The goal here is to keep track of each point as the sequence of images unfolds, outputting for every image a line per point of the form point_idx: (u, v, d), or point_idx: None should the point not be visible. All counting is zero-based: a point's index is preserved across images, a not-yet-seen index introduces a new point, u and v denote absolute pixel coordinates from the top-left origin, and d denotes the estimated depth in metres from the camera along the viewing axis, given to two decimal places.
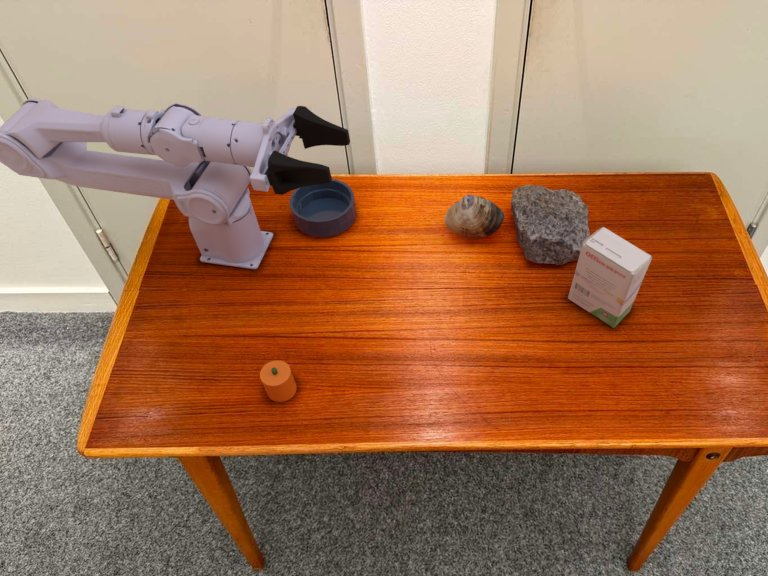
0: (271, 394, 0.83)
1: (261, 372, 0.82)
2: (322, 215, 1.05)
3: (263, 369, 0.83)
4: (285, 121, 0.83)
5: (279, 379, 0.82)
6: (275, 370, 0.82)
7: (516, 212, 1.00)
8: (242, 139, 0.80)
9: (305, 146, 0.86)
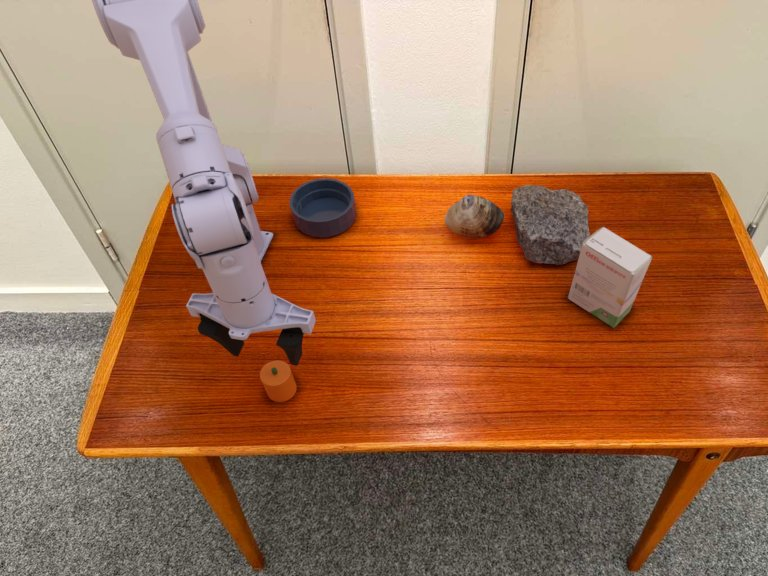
0: (271, 394, 0.83)
1: (261, 372, 0.82)
2: (322, 215, 1.05)
3: (263, 369, 0.83)
4: None
5: (279, 379, 0.82)
6: (275, 370, 0.82)
7: (516, 212, 1.00)
8: (219, 305, 0.68)
9: None
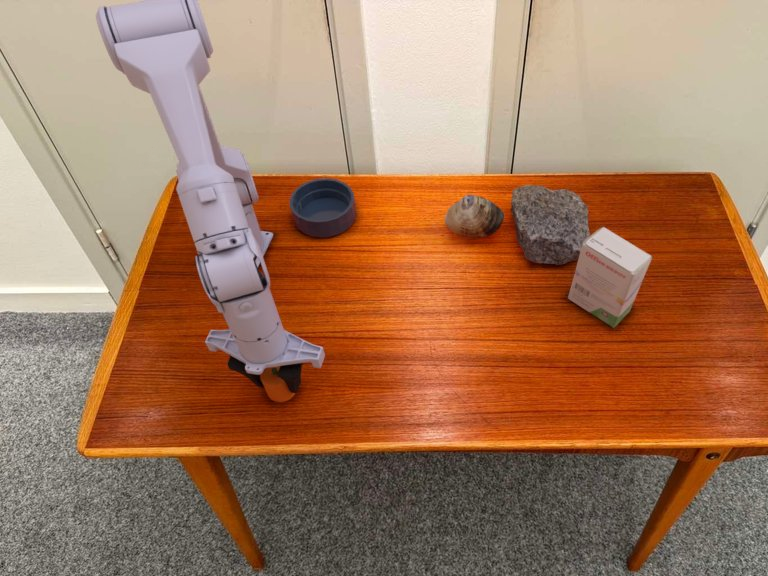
0: (272, 394, 0.83)
1: None
2: (322, 215, 1.05)
3: None
4: None
5: (279, 379, 0.82)
6: (275, 370, 0.82)
7: (516, 212, 1.00)
8: (236, 343, 0.74)
9: None
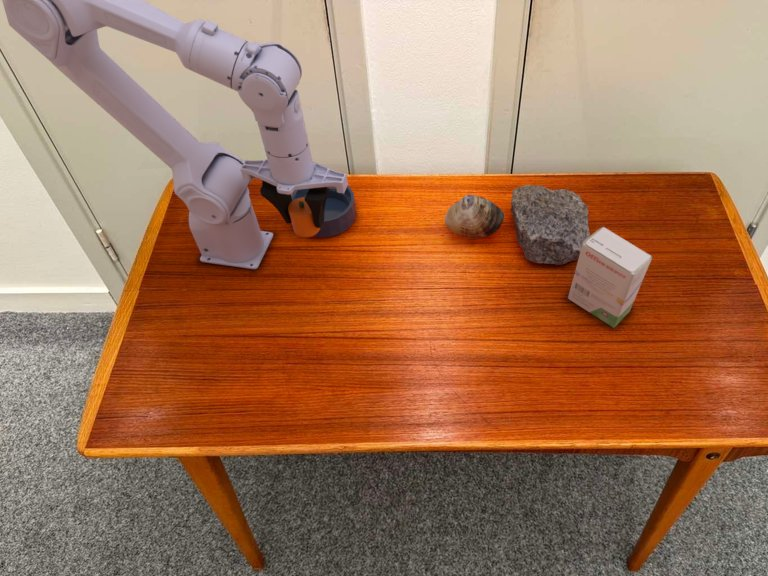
0: (298, 227, 0.92)
1: (289, 206, 0.91)
2: None
3: (291, 204, 0.91)
4: None
5: (305, 211, 0.90)
6: (302, 203, 0.90)
7: (516, 212, 1.00)
8: (270, 162, 0.82)
9: None
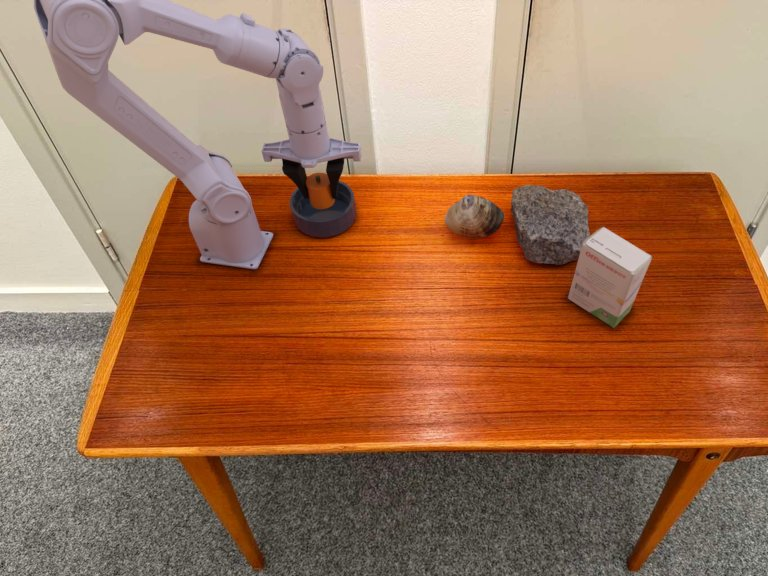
0: (317, 200, 1.00)
1: (306, 181, 0.99)
2: (322, 215, 1.05)
3: (307, 179, 0.99)
4: None
5: (323, 184, 0.99)
6: (319, 177, 0.99)
7: (516, 212, 1.00)
8: (293, 140, 0.91)
9: None
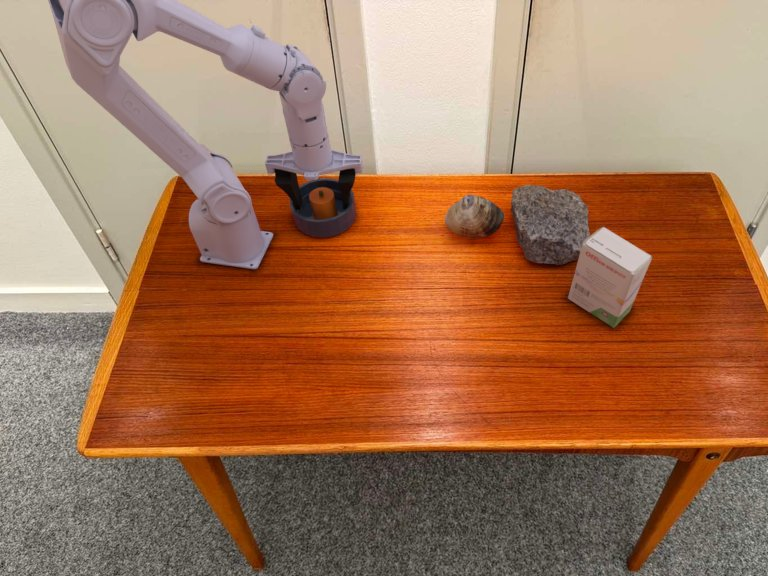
0: (320, 214, 1.02)
1: (310, 196, 1.01)
2: None
3: (311, 194, 1.02)
4: None
5: (326, 199, 1.01)
6: (322, 192, 1.01)
7: (516, 212, 1.00)
8: (296, 153, 0.92)
9: None
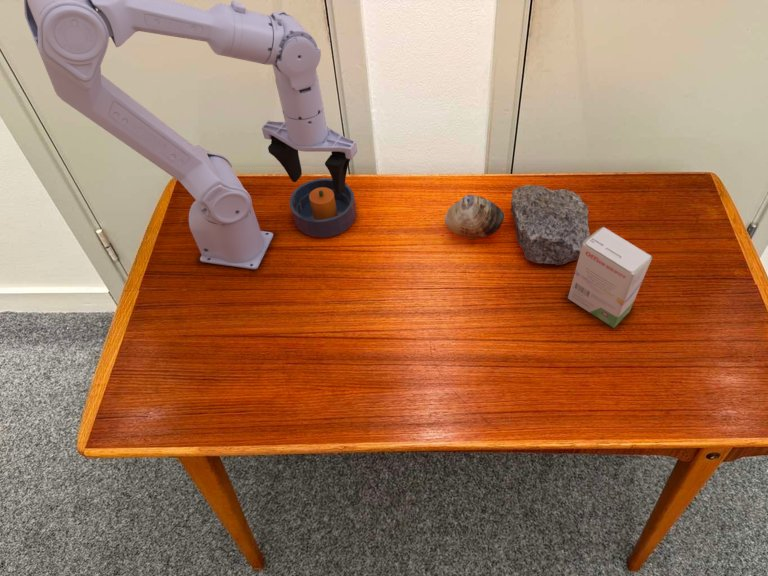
0: (320, 214, 1.02)
1: (310, 196, 1.01)
2: None
3: (311, 194, 1.02)
4: None
5: (326, 199, 1.01)
6: (322, 192, 1.01)
7: (516, 212, 1.00)
8: None
9: (281, 153, 0.94)
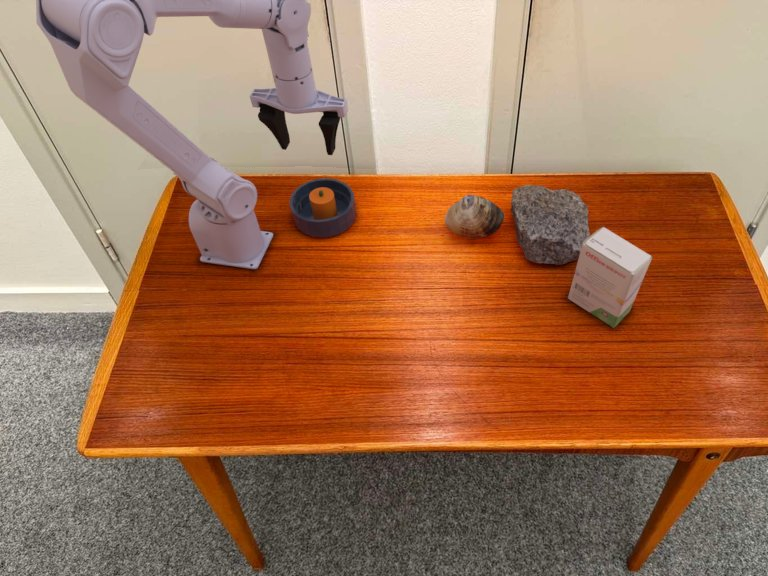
0: (320, 214, 1.02)
1: (310, 196, 1.01)
2: None
3: (311, 194, 1.02)
4: None
5: (326, 199, 1.01)
6: (322, 192, 1.01)
7: (516, 212, 1.00)
8: None
9: (272, 119, 0.95)
